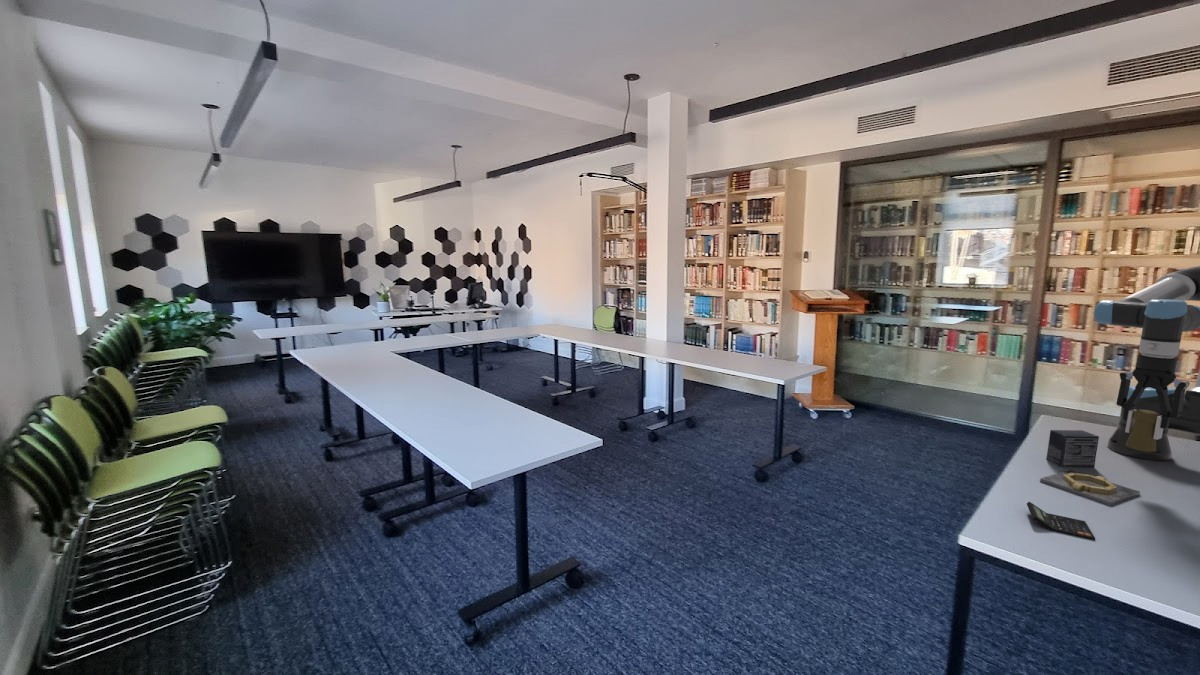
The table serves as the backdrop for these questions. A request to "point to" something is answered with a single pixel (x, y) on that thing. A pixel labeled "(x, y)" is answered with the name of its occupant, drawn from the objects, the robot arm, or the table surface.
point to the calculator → (1060, 523)
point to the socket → (1090, 487)
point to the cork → (1143, 431)
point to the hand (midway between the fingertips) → (1143, 434)
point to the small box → (1072, 448)
